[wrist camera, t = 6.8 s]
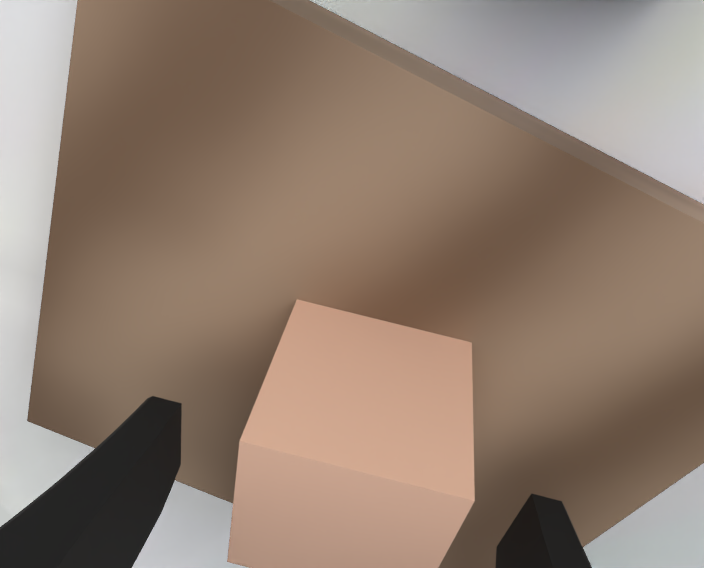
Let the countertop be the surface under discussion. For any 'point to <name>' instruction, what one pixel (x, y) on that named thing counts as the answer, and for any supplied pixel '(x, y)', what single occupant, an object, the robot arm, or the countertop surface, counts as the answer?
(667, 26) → the countertop surface
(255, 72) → the walnut board
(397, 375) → the terracotta block
